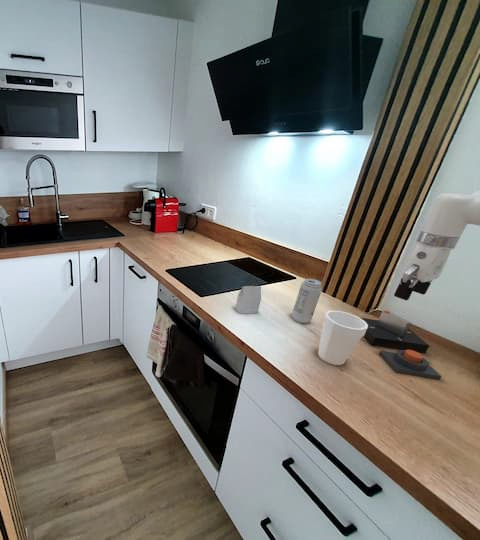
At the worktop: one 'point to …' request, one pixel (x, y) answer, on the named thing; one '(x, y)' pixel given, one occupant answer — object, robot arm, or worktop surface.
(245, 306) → the grey tapered block
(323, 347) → the foam cup
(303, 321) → the energy drink can
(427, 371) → the button block
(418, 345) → the tap deck
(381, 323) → the lever
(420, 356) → the button
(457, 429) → the worktop surface
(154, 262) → the worktop surface
